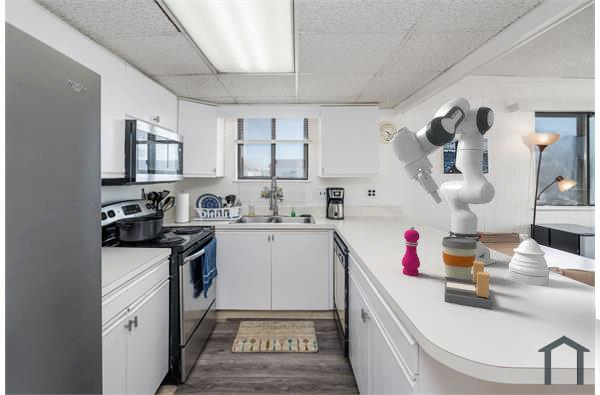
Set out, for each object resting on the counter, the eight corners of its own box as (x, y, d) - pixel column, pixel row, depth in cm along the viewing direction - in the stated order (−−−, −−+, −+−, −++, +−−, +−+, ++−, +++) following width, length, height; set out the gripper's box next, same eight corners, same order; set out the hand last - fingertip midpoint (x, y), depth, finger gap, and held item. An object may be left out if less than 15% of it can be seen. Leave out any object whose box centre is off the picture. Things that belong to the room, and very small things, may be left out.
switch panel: (444, 301, 98) (445, 293, 98) (444, 282, 116) (445, 275, 116) (492, 309, 93) (492, 300, 92) (484, 288, 111) (484, 281, 110)
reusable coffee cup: (480, 281, 118) (482, 243, 117) (445, 279, 120) (446, 241, 119) (469, 272, 130) (470, 237, 129) (437, 270, 133) (438, 235, 132)
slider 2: (477, 296, 95) (478, 274, 95) (476, 292, 98) (477, 271, 98) (488, 297, 94) (489, 275, 94) (487, 294, 97) (488, 272, 96)
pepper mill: (417, 271, 130) (418, 224, 129) (422, 276, 123) (423, 227, 122) (399, 270, 131) (401, 224, 130) (403, 276, 124) (405, 227, 123)
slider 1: (473, 282, 108) (474, 263, 108) (472, 280, 111) (473, 260, 110) (483, 283, 107) (484, 264, 106) (482, 281, 110) (483, 262, 109)
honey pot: (510, 282, 118) (512, 236, 117) (506, 273, 129) (508, 231, 128) (552, 288, 112) (555, 239, 111) (544, 278, 123) (546, 233, 122)
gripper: (428, 162, 100) (451, 199, 98) (426, 166, 119) (446, 197, 117) (410, 172, 102) (432, 208, 100) (411, 174, 121) (430, 205, 119)
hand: (439, 202), depth 108 cm, fingers closed
